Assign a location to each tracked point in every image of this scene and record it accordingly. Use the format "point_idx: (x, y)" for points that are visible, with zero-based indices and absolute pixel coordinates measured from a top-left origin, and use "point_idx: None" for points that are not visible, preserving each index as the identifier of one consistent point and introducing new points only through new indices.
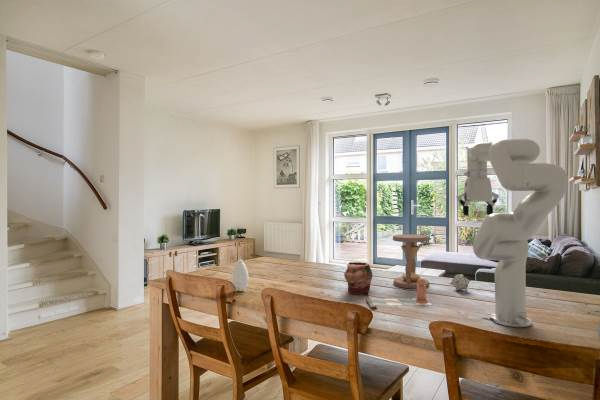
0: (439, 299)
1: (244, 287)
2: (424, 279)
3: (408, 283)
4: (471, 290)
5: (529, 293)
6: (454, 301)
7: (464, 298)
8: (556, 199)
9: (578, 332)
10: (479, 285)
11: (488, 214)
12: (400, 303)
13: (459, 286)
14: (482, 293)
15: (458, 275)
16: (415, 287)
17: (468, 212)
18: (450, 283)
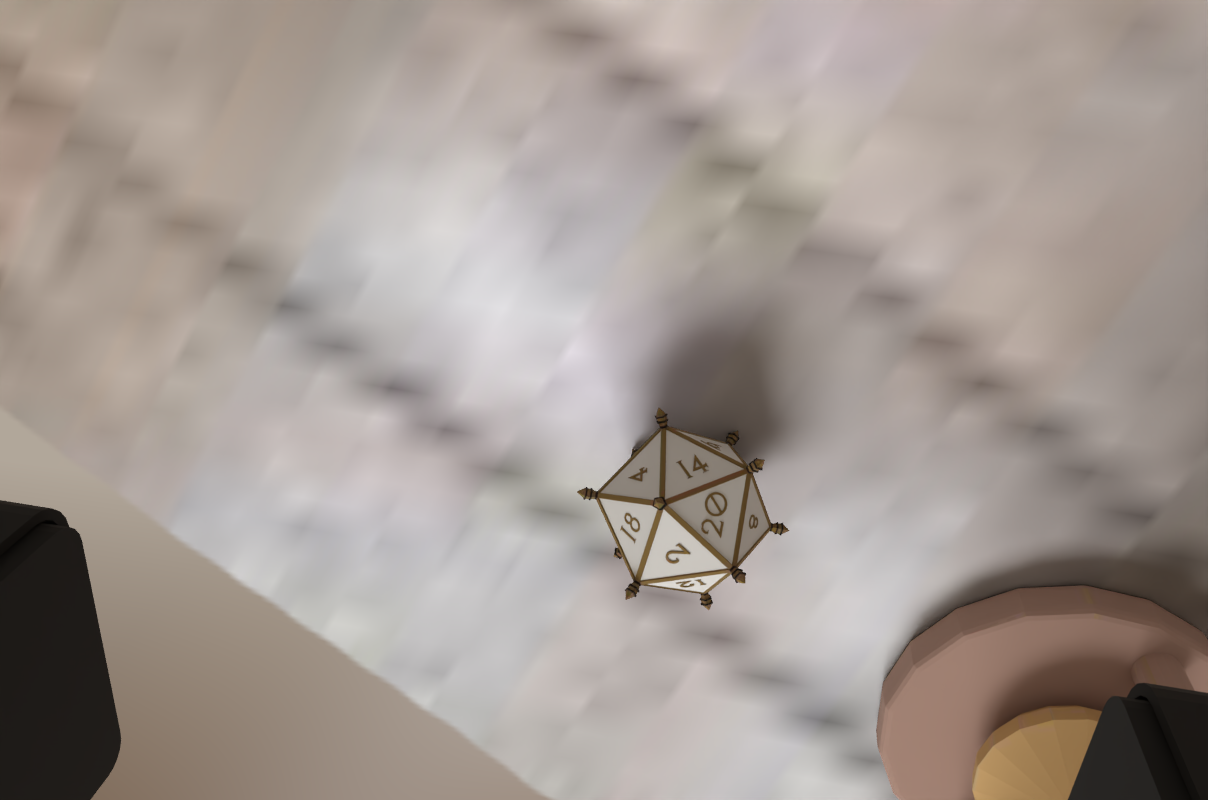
0: (1102, 207)
1: None
2: (905, 750)
3: (1171, 656)
4: (590, 447)
5: (129, 273)
6: (988, 115)
7: (816, 205)
8: None
9: None
10: (433, 576)
11: (93, 652)
12: None
13: (726, 449)
14: (543, 340)
15: (705, 543)
16: (1109, 595)
17: (1176, 798)
18: (781, 526)
